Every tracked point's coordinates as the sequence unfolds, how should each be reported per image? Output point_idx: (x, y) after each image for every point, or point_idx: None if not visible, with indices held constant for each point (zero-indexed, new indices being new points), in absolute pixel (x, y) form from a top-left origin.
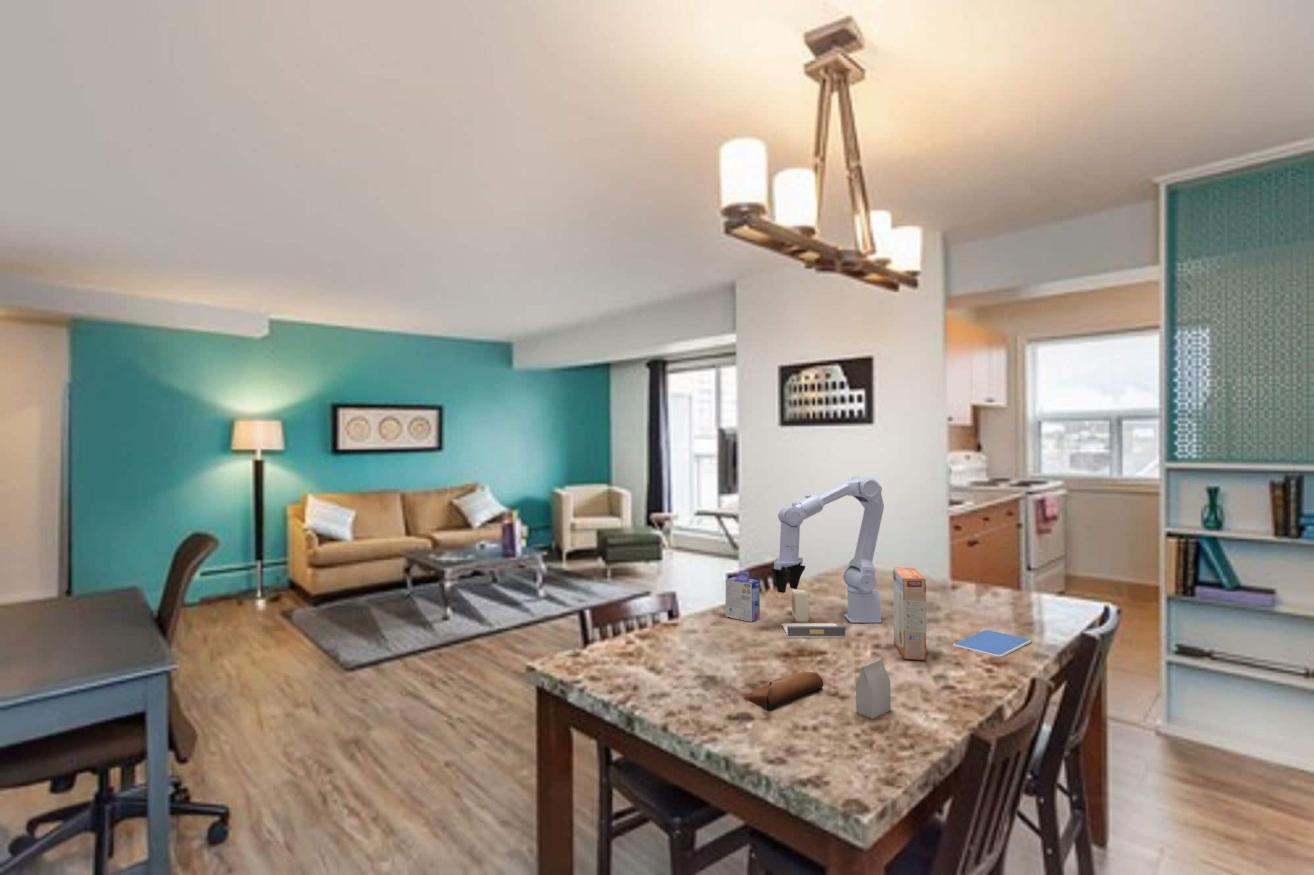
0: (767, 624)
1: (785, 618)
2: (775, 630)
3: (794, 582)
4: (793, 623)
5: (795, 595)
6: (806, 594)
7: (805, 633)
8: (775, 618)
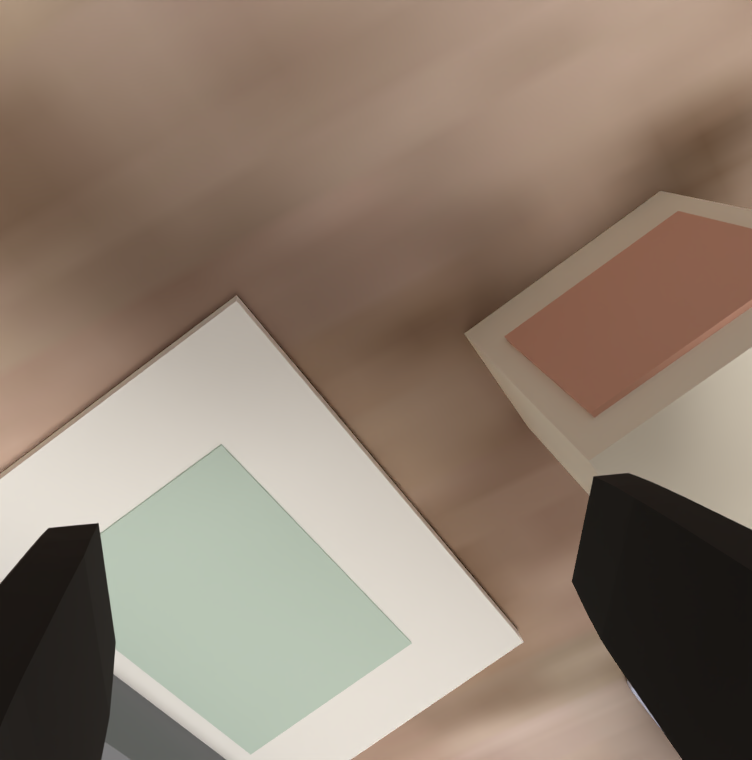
0: (161, 137)
1: (497, 197)
2: (26, 329)
3: (657, 637)
4: (313, 395)
5: (587, 460)
6: None
7: None
8: (439, 98)
